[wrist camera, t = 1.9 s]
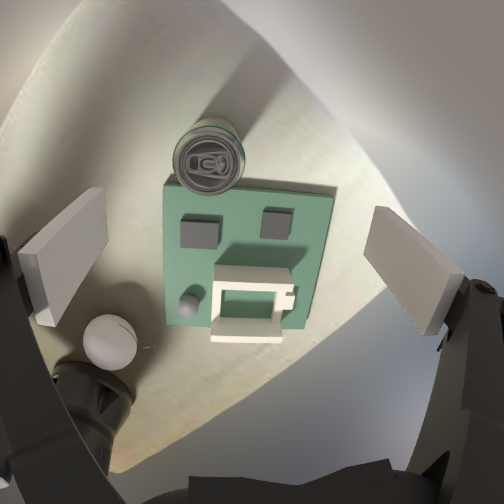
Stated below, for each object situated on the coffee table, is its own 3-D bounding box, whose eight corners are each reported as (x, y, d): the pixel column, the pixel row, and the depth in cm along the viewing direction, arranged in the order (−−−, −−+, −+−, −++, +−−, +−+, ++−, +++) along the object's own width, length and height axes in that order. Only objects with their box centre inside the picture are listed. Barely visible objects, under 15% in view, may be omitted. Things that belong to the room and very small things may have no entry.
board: (167, 319, 41) (162, 343, 37) (164, 182, 33) (156, 196, 29) (302, 323, 43) (309, 346, 39) (330, 195, 35) (344, 209, 31)
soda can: (235, 166, 33) (243, 203, 22) (186, 163, 32) (169, 199, 21) (240, 118, 30) (250, 129, 20) (189, 115, 30) (171, 125, 19)
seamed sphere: (93, 338, 42) (79, 375, 35) (90, 298, 38) (72, 334, 32) (159, 352, 44) (152, 391, 37) (163, 312, 40) (154, 352, 34)
